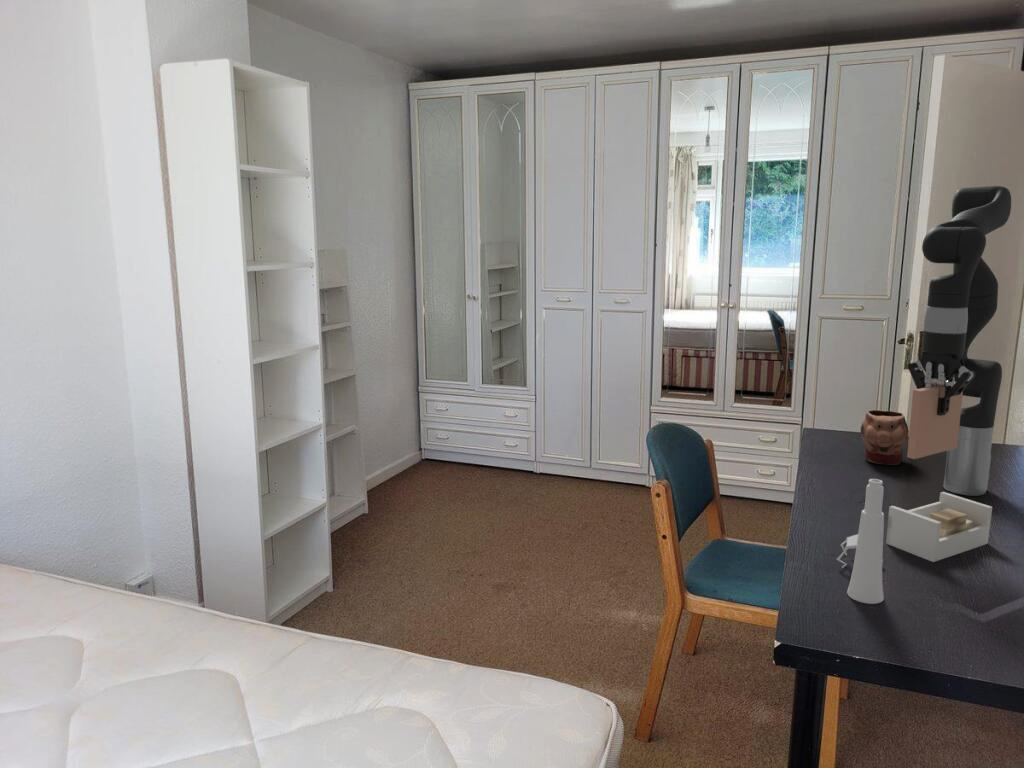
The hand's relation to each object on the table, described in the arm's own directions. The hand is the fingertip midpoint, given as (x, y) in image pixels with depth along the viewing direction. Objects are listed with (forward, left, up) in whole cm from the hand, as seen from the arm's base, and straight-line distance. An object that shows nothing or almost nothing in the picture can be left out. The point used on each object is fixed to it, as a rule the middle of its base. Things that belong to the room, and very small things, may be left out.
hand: (936, 413), depth 156 cm
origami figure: (+19, 0, -28) cm, 34 cm away
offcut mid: (-1, +5, -25) cm, 25 cm away
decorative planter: (-44, -42, -28) cm, 67 cm away
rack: (0, +3, -28) cm, 28 cm away
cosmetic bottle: (+31, +10, -28) cm, 43 cm away
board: (0, 0, -8) cm, 8 cm away
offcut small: (0, +5, -22) cm, 23 cm away
